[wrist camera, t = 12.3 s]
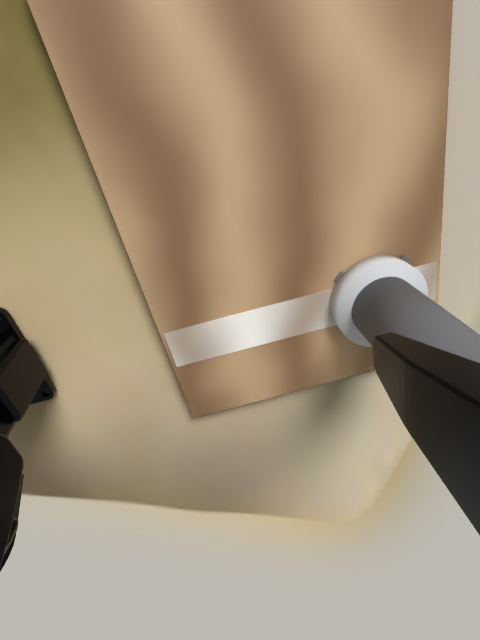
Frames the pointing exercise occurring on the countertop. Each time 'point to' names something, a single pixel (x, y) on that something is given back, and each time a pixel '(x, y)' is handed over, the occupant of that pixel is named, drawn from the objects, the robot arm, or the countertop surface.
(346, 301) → the grey domed cylinder
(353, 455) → the countertop surface
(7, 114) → the countertop surface
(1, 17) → the countertop surface
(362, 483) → the countertop surface
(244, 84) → the board
